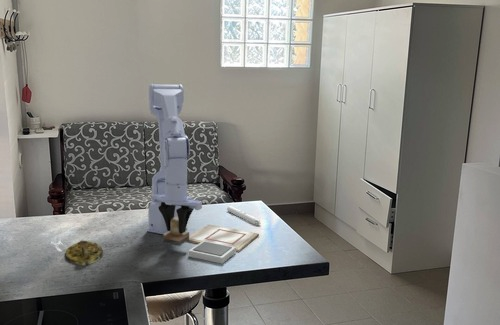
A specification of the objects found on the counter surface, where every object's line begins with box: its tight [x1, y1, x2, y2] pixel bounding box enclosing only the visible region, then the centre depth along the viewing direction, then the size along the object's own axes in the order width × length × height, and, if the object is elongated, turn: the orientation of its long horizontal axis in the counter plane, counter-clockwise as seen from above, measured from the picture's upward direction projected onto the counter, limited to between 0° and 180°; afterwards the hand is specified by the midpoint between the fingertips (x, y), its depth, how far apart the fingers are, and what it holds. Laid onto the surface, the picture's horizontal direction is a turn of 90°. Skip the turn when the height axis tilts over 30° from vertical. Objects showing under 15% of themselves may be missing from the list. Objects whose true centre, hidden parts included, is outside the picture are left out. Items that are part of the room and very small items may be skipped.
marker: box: [226, 205, 261, 226], centre depth 161 cm, size 18×2×2 cm, turn 35°
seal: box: [65, 240, 104, 266], centre depth 128 cm, size 9×5×15 cm
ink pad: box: [188, 241, 237, 264], centre depth 131 cm, size 10×8×2 cm
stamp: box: [162, 217, 190, 247], centre depth 132 cm, size 5×5×6 cm
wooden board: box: [187, 224, 260, 252], centre depth 143 cm, size 17×14×1 cm
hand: (176, 231), depth 132 cm, fingers closed on stamp, 3 cm apart
